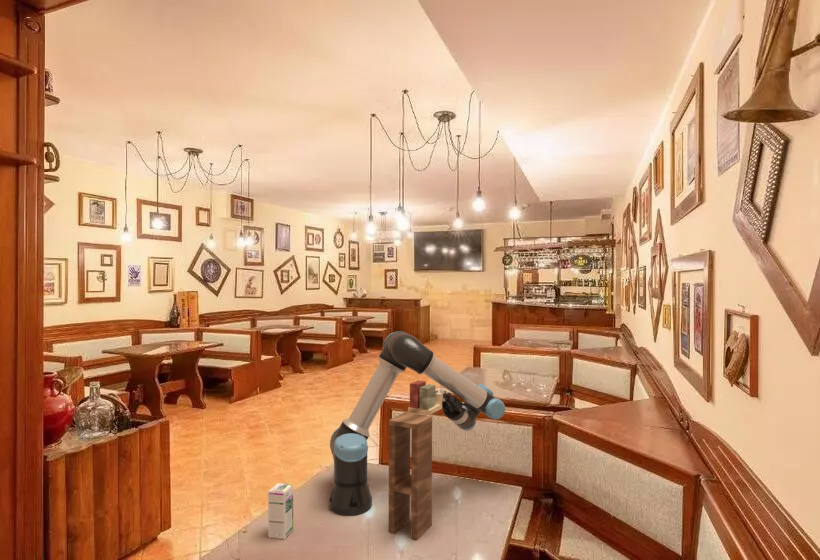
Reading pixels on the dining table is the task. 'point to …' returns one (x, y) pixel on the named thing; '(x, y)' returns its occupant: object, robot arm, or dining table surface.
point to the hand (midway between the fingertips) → (433, 391)
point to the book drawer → (424, 398)
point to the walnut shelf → (420, 473)
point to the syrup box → (280, 511)
